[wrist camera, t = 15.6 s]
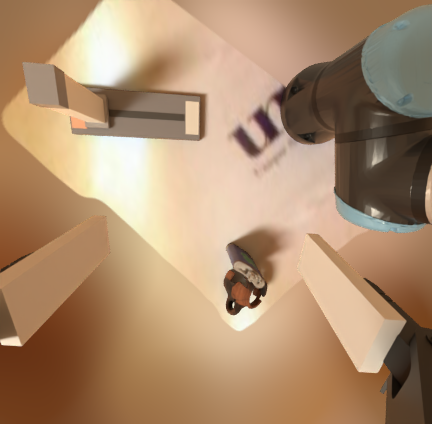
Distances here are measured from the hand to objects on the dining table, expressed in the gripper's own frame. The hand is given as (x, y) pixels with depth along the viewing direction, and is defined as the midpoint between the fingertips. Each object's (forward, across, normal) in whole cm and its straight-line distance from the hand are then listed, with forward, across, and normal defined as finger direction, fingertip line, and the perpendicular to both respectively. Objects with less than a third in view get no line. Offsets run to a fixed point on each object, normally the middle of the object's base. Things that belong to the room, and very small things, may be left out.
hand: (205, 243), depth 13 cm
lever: (+29, -23, +9) cm, 38 cm away
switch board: (+32, -16, +9) cm, 37 cm away
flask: (+32, +8, -21) cm, 39 cm away
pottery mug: (+31, +9, -29) cm, 44 cm away
